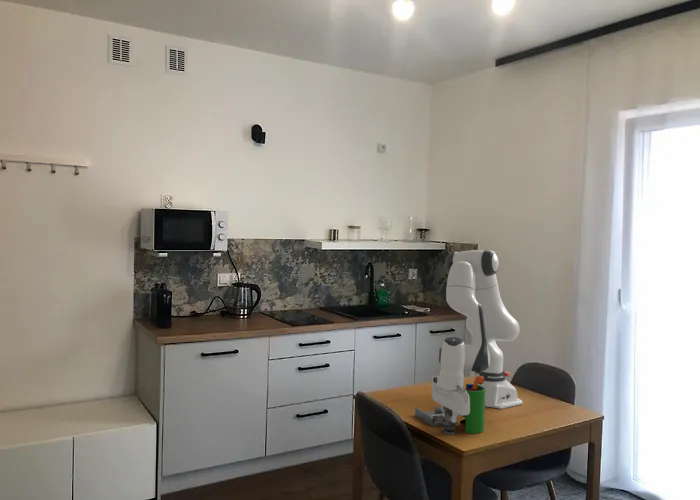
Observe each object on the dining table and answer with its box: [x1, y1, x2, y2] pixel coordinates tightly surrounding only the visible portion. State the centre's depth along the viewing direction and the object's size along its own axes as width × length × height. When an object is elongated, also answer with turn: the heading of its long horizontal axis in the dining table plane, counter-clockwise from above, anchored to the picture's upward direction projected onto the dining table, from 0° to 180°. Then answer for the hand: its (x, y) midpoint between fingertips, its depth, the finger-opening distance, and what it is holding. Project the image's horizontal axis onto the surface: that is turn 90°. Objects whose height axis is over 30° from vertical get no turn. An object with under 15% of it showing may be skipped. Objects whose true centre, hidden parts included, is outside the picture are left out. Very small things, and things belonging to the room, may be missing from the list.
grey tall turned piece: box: [441, 407, 458, 435], centre depth 213 cm, size 6×6×12 cm
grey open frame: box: [414, 405, 445, 427], centre depth 226 cm, size 13×10×4 cm
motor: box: [459, 376, 486, 434], centre depth 217 cm, size 10×9×20 cm
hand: (449, 419), depth 213 cm, fingers closed on grey tall turned piece, 3 cm apart
